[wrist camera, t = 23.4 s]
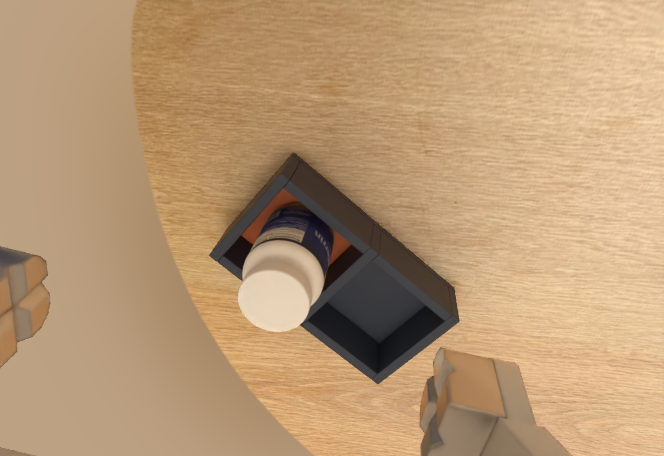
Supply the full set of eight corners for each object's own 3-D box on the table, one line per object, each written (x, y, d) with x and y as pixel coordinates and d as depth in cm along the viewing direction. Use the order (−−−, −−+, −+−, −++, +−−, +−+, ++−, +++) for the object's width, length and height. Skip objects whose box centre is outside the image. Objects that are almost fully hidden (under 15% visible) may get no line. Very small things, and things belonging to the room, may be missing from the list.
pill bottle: (338, 263, 42) (321, 340, 34) (271, 264, 43) (237, 339, 34) (332, 199, 40) (311, 263, 31) (260, 201, 41) (221, 265, 32)
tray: (226, 229, 43) (208, 255, 39) (293, 152, 40) (281, 172, 35) (380, 348, 47) (378, 384, 43) (454, 288, 43) (460, 321, 39)
